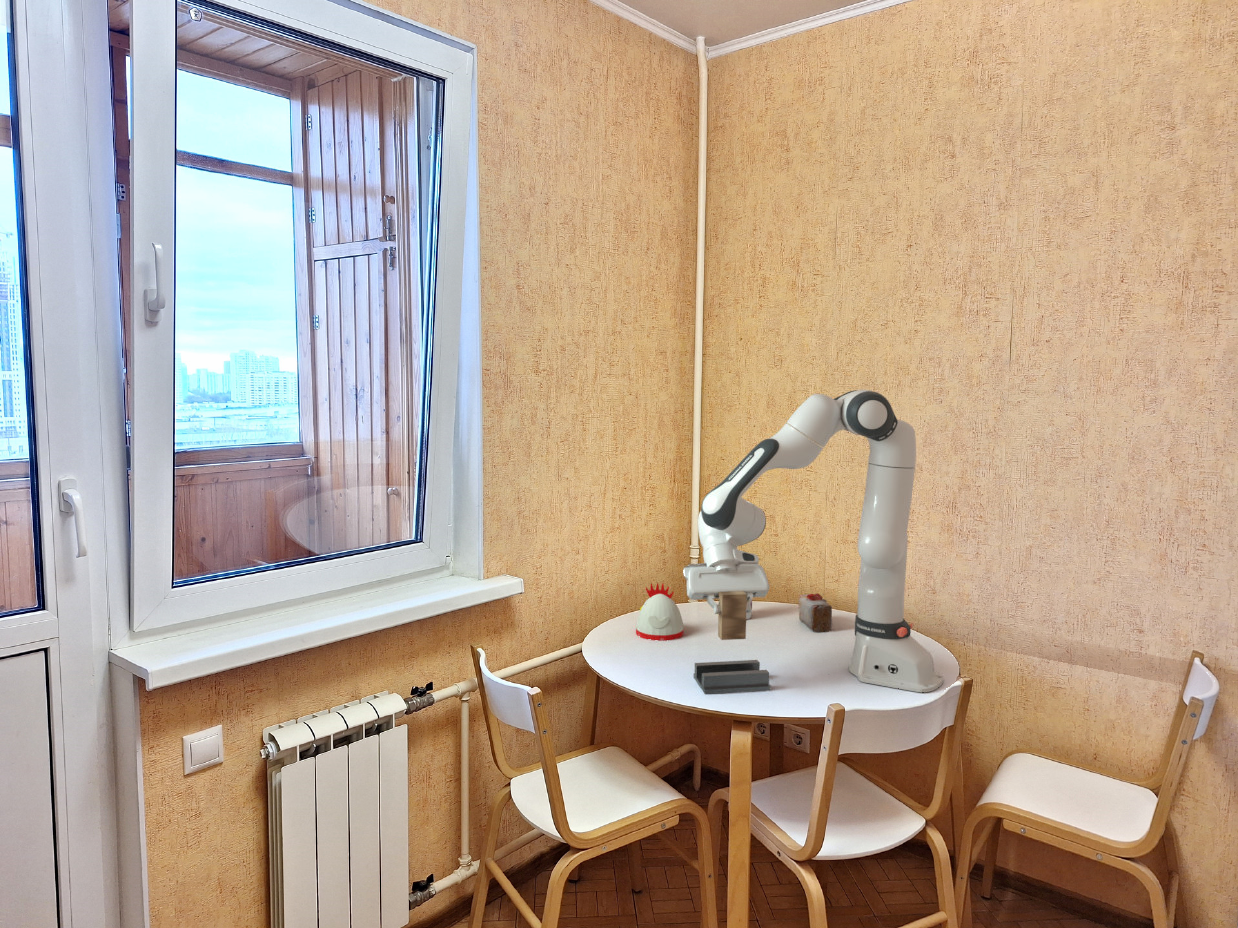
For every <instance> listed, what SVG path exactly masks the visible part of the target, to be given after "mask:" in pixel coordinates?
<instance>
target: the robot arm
mask: <svg viewBox="0 0 1238 928" xmlns="http://www.w3.org/2000/svg"><path fill="white" fill-rule="evenodd" d="M843 430H844V431H846V432H849V433H851V434H854V435H857V436H862V437H864V438H866V439H867V442H868V444H869V445H868V446H869V447H868V448H869V454H868V462H867V471H866V479H865V481H866V482H865V489H864V490H865V491H864V497H863V502H862V509H861V516H860V523H859V529H858V530H859V531H858V537H857V552H858V555H859V557H860V567H859V569H860V570H859V577H858V587H857V614H855V621H854V636H855V641H854V647H853V652H852V656H851V659H850V663H849V665H848V670H849V672H850V673H851V674H853V675H854V676H855V677H857V679H858V681H860V682H862V683H867V684H871V685H877V686H878V685H879V686H883V687H889V688H893V689H898V688H899V690H904V691H910V692H917V693H922V692H924V693H930V692H933V691H935V690H938V687H939V688H940V687H941V686H942V685H943V684H944V681H945V679H944V675H943V673H940V672H937V671H935V663H934V659H933V658H934V657H933V656H932V654H931V652H930V651H928V649H926V648H925V647H924V646H923V645H921V643H919V642H918V641H917V640H916V639H915V638H914V637H913V636H912V635H911V632H912V630H911V629H913V627H914V626H913V625H914V623H913V622H912V623H911V622H910V623H908V622H907V621H906V619H905V618H904V613H905V611H904V608H905V589H906V588H905V587H906V574H907V559H908V542H909V541H908V538H909V536H908V527H909V520H910V514H911V513H910V511H911V505H912V499H913V491H914V483H915V482H914V480H915V473H916V462H917V442H916V441H917V439H916V438H917V437H916V431H915V429H914V427H913V425H911V424H909V423H908V422H907V421H905V420H901V419H897V416H896V413H895V412H894V410H893V407H892V405H891V403H890V401H889V399H887V397H886V396H884V395H883V394H882V393H880V392H877V391H873V390H870V389H857V390H850V391H847V392H845V393H843V394H842V395H839V396H837V397H835V398H832V397H831V396H829V395H826V394H823V393H813V394H811V395H810V396H809V397H808V398H806V400H805V401H803V402H802V403H801V404H800V405H799V406H798V407H797V408H796V410H795V411H794V412H793V413H792V414H791V415H790V417H789V419H787V421H786V423H784V424H783V426H782V427H781V428H780V429H779V430H778V432H776V433H775V434H774V435H772V436H771V437H769V438H766V439H764V440H761V441H760V442H759V443H757V444H756V445H755V446H754V447H753V448H752V449H751V450H750V451H749V452H748V453H747V454H746V455H745V457H744V458H743V459H742V460H741V461H740V462H739V463H738V464H737V465H736V466H735V467H734V468H733V469H732V471H731V472H730V473H729V474H728V475H727V476H726V477H725V478H724V479H723V480H722V481H721V482H720V483H719V484H718V485H717V486H714V488H713V489H711V490H710V491H709V492H708V493H707V494H706V495H705V496H704V497H703V499H702V502H701V505H700V507H701V508H700V511H699V514H698V517H697V532H698V536H699V542H700V545H701V546H702V557H703V562H704V563H689V564H688V565H686V566H684V567H683V569H682V570H683V571H682V572H683V577H684V578H685V580H686V594H687V597H688V598H689V599H690V600H691V601H692V600H693V601H694V600H706V602H707V604H708V605H709V606H710V607H711V608H712V611H713V614H714V615H719V614H721V611H722V610H721V605H719V604H717V602H716V601H715V600H716V599H717V600H719V592H727V591H744V592H745V593H746V594H747V601H748V603H747V605H746V613H750V612H751V601H752V602H753V599H754V598H765V597H766V596H767V594H768V593H769V591H770V583H769V579H768V576H767V574H766V572H765V569H764V567H763V566H761V564H759V562H760V558H759V555H758V554H755V553H750V552H746V551H745V550H744V551H743V550H740V549H738V547H740V546H744V545H746V544H748V543H752V542H753V541H756V540H758V538H759V537H761V536H762V534H763V533H764V531H765V529H766V525H767V516H766V513H765V512H764V510H763V509H762V508H760V507H759V506H757V504H754V503H752V502H750V501H748V500H746V499H744V498H743V496H744V495H745V493H746V492H747V491H748V490H749V489H750V488H751V486H753V484H755V482H756V481H757V480H758V479H759V478H760V477H761V476H762V475H763V474H764V473H766V472H767V471H771V470H774V469H788V470H799V469H802V468H806V467H808V466H810V465H811V464H812V463H813V462H814V461H815V460H816V459H817V458H818V457H819V455H820V454H821V452H822V451H823V449H824V448H825V447H826V445H827V444H828V443H829V441H830V439H831V438H833V437H834V435H836V434H837V433H839V432H841V431H843ZM942 683H943V684H942Z"/></svg>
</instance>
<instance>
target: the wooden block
mask: <svg viewBox="0 0 1238 928" xmlns="http://www.w3.org/2000/svg"><path fill="white" fill-rule="evenodd" d="M718 605H721V610H722V611H721V614H717V615H718V619H717V620H718V621H717V622H718V623H717V625H718V626H717V637H718V638H719V639H720V640H721V641H728V640H729V641H730V640H732V641H733V640H746V636H747V619H746V605H747V594H746V593H745V592H744V591H727V592H719V599H718Z"/></svg>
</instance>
